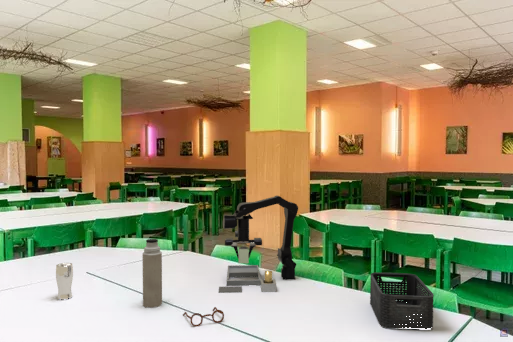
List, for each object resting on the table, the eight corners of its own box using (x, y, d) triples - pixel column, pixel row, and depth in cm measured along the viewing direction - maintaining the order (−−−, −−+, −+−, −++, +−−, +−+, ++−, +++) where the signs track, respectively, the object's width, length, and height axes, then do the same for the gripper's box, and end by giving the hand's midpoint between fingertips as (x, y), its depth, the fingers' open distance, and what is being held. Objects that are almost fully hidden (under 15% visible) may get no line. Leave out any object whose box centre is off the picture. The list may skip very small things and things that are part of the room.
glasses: (190, 328, 154) (190, 315, 154) (182, 316, 166) (182, 303, 166) (224, 322, 160) (224, 309, 159) (213, 311, 171) (213, 299, 171)
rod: (270, 287, 200) (270, 270, 201) (273, 288, 197) (273, 271, 197) (263, 287, 199) (263, 270, 200) (265, 289, 196) (266, 272, 196)
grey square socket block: (274, 287, 202) (274, 279, 201) (276, 291, 195) (276, 283, 194) (260, 287, 201) (260, 279, 201) (261, 292, 194) (261, 284, 194)
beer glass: (76, 296, 188) (76, 263, 188) (63, 301, 182) (63, 267, 181) (65, 294, 191) (65, 262, 190) (52, 299, 185) (52, 265, 184)
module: (248, 260, 214) (248, 246, 213) (248, 263, 209) (248, 248, 208) (238, 260, 213) (238, 246, 213) (238, 263, 208) (238, 248, 208)
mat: (241, 286, 202) (241, 286, 202) (242, 292, 194) (242, 291, 194) (219, 287, 201) (219, 286, 201) (218, 292, 193) (218, 292, 193)
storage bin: (435, 332, 151) (436, 295, 150) (381, 329, 153) (381, 293, 152) (414, 304, 179) (414, 273, 179) (368, 302, 181) (368, 272, 181)
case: (258, 268, 235) (258, 264, 235) (261, 285, 204) (261, 280, 204) (227, 269, 234) (227, 264, 234) (226, 285, 204) (226, 280, 203)
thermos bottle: (149, 300, 183) (149, 237, 182) (165, 302, 181) (165, 238, 180) (139, 306, 176) (138, 240, 175) (155, 308, 173) (154, 241, 172)
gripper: (260, 225, 219) (260, 254, 219) (225, 225, 218) (225, 254, 219) (262, 228, 208) (262, 259, 208) (224, 229, 207) (224, 260, 207)
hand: (243, 258), depth 211 cm, fingers closed on module, 5 cm apart
